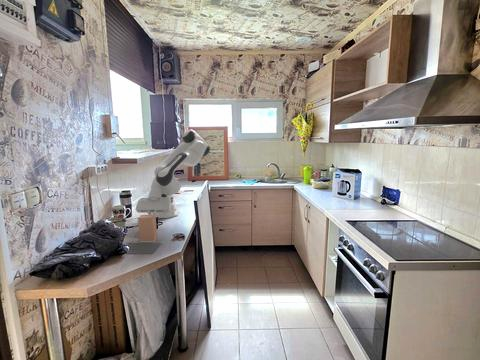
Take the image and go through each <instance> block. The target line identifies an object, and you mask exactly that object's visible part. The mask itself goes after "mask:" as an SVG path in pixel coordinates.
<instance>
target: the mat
mask: <svg viewBox="0 0 480 360" xmlns="http://www.w3.org/2000/svg"><path fill="white" fill-rule="evenodd" d="M162 244H163V242H128V243H127V244H126V245H127V246H128V247H129V251H128V252H127V253H125V254H124V255H154V254H155V252H156V251H157V250H158V249H159V247H161V245H162Z"/></svg>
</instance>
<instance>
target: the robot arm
mask: <svg viewBox="0 0 480 360" xmlns="http://www.w3.org/2000/svg"><path fill="white" fill-rule="evenodd" d="M181 137H182V141H183V142H181V143H180V144H179V145H178V146H177V147H175V148H174V149H173V150H172V151H171V153H169V154H168V155H167V156H166V157H165V158H164V159H163V160H162V161H161V162H160V163H159V164H158V165H157V166H156V167H155V169H154V172H153V174H154V177H153V180H152V182H151V185H150V190H149V193H148V197H141V198H139V199H138V201H137V204H136V205H135V210H136V212H137V213H145V214H146V213H147V215H156V218H157V217H158V218H157V219H169V218H170V219H171V218H173V217H178V216H179V214H178V213H180V210H179V209H177V205H176V203H175V202H174V196H173V195H176V194H178V193H179V192H180V190H181V188H182V186H181V183H180V181H179V180H178V179H177V178H176V176H175V172H176V171H177V169H179V167H180V166H181V165H185V166H187V167H196V166H197V165H198V164H199V162H200V160H202V158H205V157H206V156H208V154H209V153H210V151H211V147H210V145H209V144H208V143H207V142H206V141H205V139H204V138H202V137H201V136H200V135H199V134H198V132H196V131H195V130H193V129H188V130H186V131H185V132H184V133H183V135H182V136H181ZM152 213H153V214H152Z"/></svg>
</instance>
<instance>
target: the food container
mask: <svg viewBox="0 0 480 360" xmlns="http://www.w3.org/2000/svg"><path fill="white" fill-rule="evenodd" d="M107 220H108V221H111V222H112V223H114V224H115V225H116V226H118V227H122V228H125V229H126V222H127V219H126V218H125V217H116V218H109V219H107Z"/></svg>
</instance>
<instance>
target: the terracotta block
mask: <svg viewBox="0 0 480 360" xmlns="http://www.w3.org/2000/svg"><path fill="white" fill-rule="evenodd" d="M137 220H138V221H137V223H138V235H139V236H138V237H139V243H156V241H157V239H158V232H157V230H158V229H157V217H156V215H153V214H150V215H148V214H141V215H139V216H138V217H137Z"/></svg>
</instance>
